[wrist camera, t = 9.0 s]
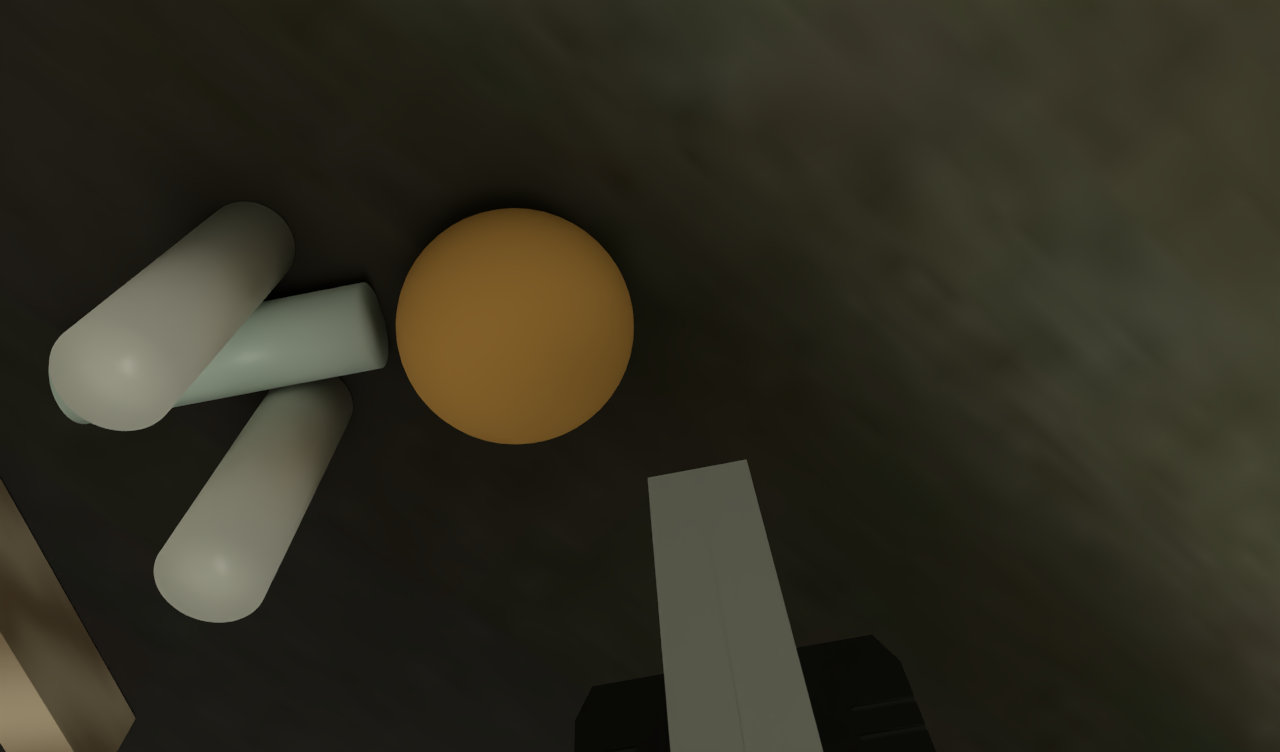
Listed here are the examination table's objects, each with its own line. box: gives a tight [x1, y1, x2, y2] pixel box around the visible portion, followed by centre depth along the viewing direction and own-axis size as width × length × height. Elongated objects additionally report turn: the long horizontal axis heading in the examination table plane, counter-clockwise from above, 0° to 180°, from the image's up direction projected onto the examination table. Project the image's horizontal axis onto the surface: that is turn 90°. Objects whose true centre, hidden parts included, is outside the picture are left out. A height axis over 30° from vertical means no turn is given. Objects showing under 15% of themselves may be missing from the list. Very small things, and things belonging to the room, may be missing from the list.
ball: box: [396, 208, 634, 444], centre depth 25 cm, size 6×6×6 cm
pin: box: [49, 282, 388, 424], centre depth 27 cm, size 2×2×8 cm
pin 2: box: [154, 377, 353, 622], centre depth 25 cm, size 2×2×8 cm
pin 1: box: [49, 201, 295, 431], centre depth 23 cm, size 2×2×8 cm
